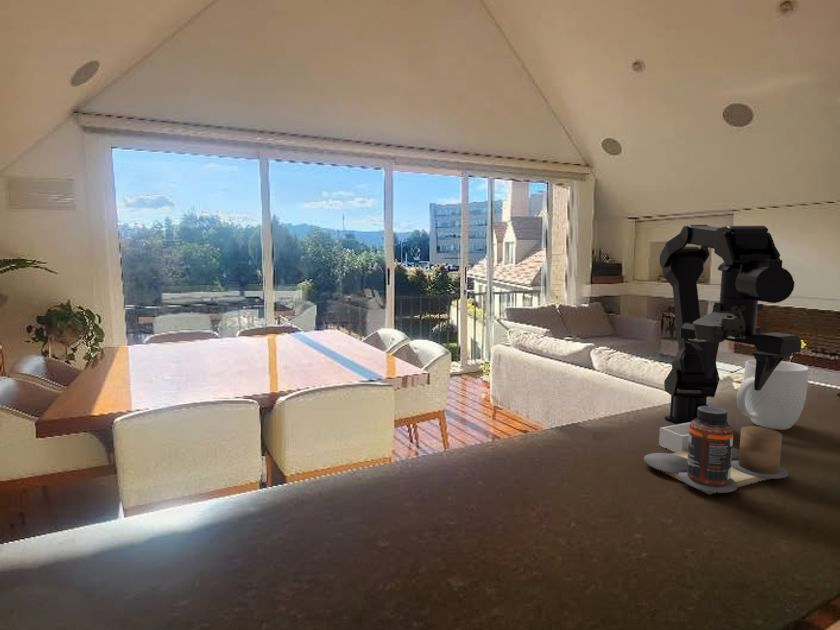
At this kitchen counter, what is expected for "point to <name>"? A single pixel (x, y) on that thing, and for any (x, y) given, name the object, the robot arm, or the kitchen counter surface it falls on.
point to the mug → (774, 395)
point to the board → (732, 461)
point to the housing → (675, 437)
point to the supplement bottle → (710, 447)
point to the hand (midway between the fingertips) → (732, 383)
